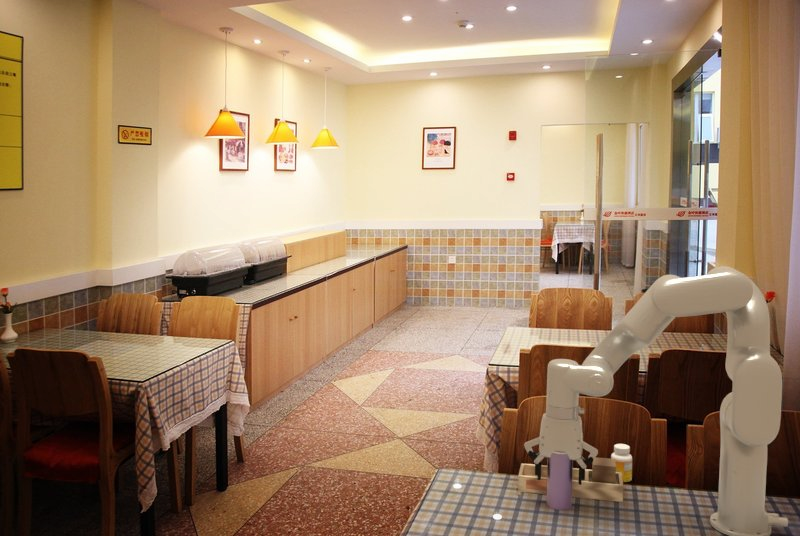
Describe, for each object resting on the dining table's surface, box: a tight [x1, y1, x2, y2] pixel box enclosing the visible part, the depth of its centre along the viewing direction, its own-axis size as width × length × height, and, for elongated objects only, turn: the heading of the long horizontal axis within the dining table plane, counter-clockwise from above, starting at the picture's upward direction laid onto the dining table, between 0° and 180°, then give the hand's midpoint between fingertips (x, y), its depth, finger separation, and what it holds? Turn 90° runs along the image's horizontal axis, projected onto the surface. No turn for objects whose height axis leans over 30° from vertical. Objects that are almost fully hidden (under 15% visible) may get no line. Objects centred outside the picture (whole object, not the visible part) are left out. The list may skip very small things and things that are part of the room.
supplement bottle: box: [610, 443, 633, 483], centre depth 187 cm, size 5×5×10 cm
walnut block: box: [591, 456, 616, 484], centre depth 178 cm, size 6×6×8 cm
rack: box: [517, 462, 624, 503], centre depth 180 cm, size 25×9×5 cm, turn 75°
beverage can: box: [546, 451, 574, 511], centre depth 171 cm, size 6×6×15 cm
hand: (559, 480), depth 171 cm, fingers open, 9 cm apart
